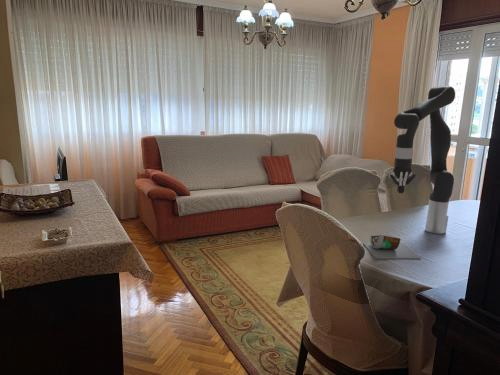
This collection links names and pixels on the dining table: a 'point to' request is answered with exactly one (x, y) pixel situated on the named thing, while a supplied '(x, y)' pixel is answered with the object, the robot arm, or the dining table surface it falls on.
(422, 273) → the dining table surface
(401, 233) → the dining table surface
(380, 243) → the food container
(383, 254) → the felt mat
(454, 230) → the dining table surface
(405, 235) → the dining table surface
